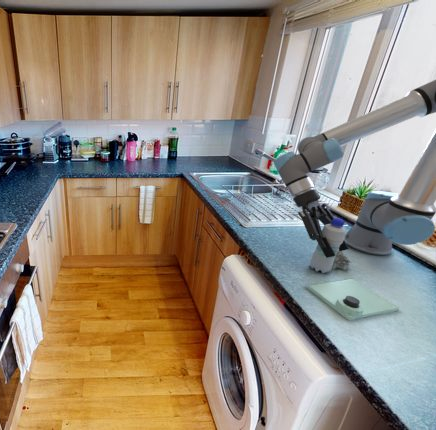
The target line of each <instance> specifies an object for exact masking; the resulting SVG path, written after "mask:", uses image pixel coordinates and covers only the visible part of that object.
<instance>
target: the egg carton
mask: <svg viewBox="0 0 436 430" xmlns="http://www.w3.org/2000/svg"><path fill="white" fill-rule="evenodd" d="M351 263H353V261H351V260H350V259H349V258H348V256H346V255H345V254H344V251H339V249H338V252H337V254H336V257H335V259H334V263H333V266H332V268H331V270H332V269H335V270H336V269H341V270H343V271H346V270H347V269H348V268H349V266H350V264H351Z"/></svg>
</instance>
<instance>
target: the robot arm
mask: <svg viewBox="0 0 436 430" xmlns="http://www.w3.org/2000/svg"><path fill="white" fill-rule="evenodd" d="M435 113H436V79H433V80H432V81H429V82H427V83H425V84H422V85H421V86H418V87H417V88H413V89H411V90H409V91H408V92H407V94H406V95H405V96H404V97H401V98H399V99H396V100H395V101H392V102H389V103H387V104H385V105H383V106H380V107H378V108H376V109H374V110H372V111H369V112H367V113H365V114H363V115H360V116H358V117H355V118H353V119H351V120H349V121H347V122H344V123H342V124H340V125H337V126H335V127H333V128H331V129H328V130H325V131H324V132H321V133H319V134H317V135H315V136H314V135H313V136H307V137H304V138H302V139H301V140H300V141H299V142H298V144H297V152H298V154H297V153H295V151H291V150H290V151H288V152H285V153H283V154H281V155H280V156H278V157H277V158H276V159H274V162H273V165H274V167H275V168H276V171H277V173H278V175H279V176H280V179H281V180H282V182H283V184H284V185H285V187H286V188H287V191H288V193H289V195H290V196H291V197H293V202H294V203H295V205H296V207H298V208H301V210H300V211H298V212H297V214H298V216H299V217H300V219H301V221H302V224H303V225H304V227H305V230H306V232H307V235H308V237H309V239H310V240H312V241H316V242H317V245H318V244H319V246H320V247H321V249H322V251H323V253H324V255H325V256H326V258H328V257H332V256H336V255H335V253H334V251H333V249H332V248H331V246H330V244H329V242H328V241H327V239H326V237H323V234H322V228H321V224H320V223H322V225H323V227H324V226H325V225H326V224H331V221H332V219H334V218H336V217H335V216H334V215H333V213H332V211H331V210H330V209H329V207H328V205H327V203H326V202H325V203H320V202H319V200H320V199H321V195H320V194H319V192H318V190H317V189H315V185H314V182H312V180H311V177H309V175H308V173H311V172H313V171H316V170H318V169H320V168H323V167H325V166H327V165H329V164H332V163H334V162H336V161H338V160H340V159H342V158H343V157H344V155H345V153H344V152H345V151H344V150H343V148H342V147H344V146H346V145H349V144H351V143H354V142H356V141H359V140H361V139H364V138H366V137H369V136H372V135H374V134H377V133H378V132H381V131H383V130H386V129H388V128H391V127H393V126H396V125H398V124H400V123H401V124H402V123H403V122H405V121H408V120H411V119H413V118H415V117H416V118H423V117H426V116H428V115H431V114H435ZM435 203H436V129H435V130H434V132H433V134H432V136H431V138H430V139H429V141H428V143H427V144H426V147H425V148H424V150H423V152H422V154H421V155H420V157H419V159H418V160H417V162H416V164H415V166H414V168H413V170H412V171H411V172H410V175H409V177H408V179H407V180H406V182H405V183H404V185H403V188H402V189H401V191H400V193H396V192H390V191H382V190H371V191H369V192H368V193H367V195H366V196H365V198H364V201H363V204H362V206H361V208H360V211H359V213H358V215H357V218H356V221H355V223H354V224H353V225H352V226H351V228H349V230H347V231H346V233H345V238H344V240H343V243H342V244H341V245H340V247H339V249H338V250H339V251H342V252H344V251H347V250H350V248H351V249H354V250H357V251H359V252H362V253H364V254H365V253H366V254H369V255H374V256H375V255H376V256H386V255H390V253H391V251H392V249H393V243H395V244H398V245H404V246H410V245H416V244H418V243H422V242H425V241H427V240H428V239H429V238H431V237H432V236H433V234H434V233H435V230H436V226H435V223H434V221H433V218H434V216H435V214H436V206H435Z"/></svg>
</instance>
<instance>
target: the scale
mask: <svg viewBox="0 0 436 430" xmlns="http://www.w3.org/2000/svg"><path fill="white" fill-rule="evenodd" d="M307 289H308V290H309V291H311V293H313V294H314V295H315V296H317V297H318V298H319V299H321V300H322V301H323V302H324V303H325V304H327V305H328V306H329V307H331V308H332V309H333V310H335V311H336V312H337V313H338V314H340V315H341V316H343V317H344V319H347V320H348V321H353V320H357V319H363V318H368V317H373V316H378V315H382V314H383V315H384V314H389V313H393V312H397V311H399V309H400V307H399V306H397V305H396V304H394V303H393V302H391V301H389V300H388V299H386V298H385V297H383V296H381V295H380V294H378V293H377V292H375V291H373V290H371V288H369V287H367V286H366V285H364V284H362V283H360V282H359V281H357V280H356V279H354V278H349V279H341V280H335V281H330V282H324V283H318V284H310V285H308V286H307ZM346 296H352V297H355V298H357V299H358V300H359V301H360V303H359V305H358V307H357V308H352V307H349V306H347V305H346V304H344V300H345V298H346Z"/></svg>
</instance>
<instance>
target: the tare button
mask: <svg viewBox="0 0 436 430" xmlns="http://www.w3.org/2000/svg"><path fill="white" fill-rule="evenodd" d="M359 303H360V301H359V300H358V299H357V298H355V297H352V296H346V298H345V300H344V304H346V305H347V306H349V307H352V308H357V307H358V305H359Z"/></svg>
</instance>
